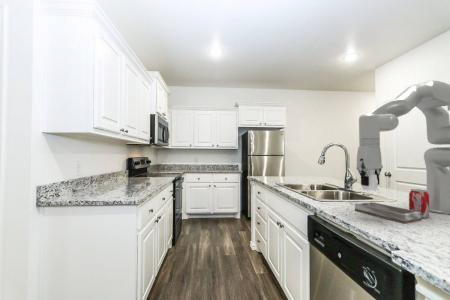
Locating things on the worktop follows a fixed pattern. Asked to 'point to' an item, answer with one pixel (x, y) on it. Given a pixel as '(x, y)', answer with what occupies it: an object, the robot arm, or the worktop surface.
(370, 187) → the downlight
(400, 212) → the silver picture frame
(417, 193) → the soda can
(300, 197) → the worktop surface
